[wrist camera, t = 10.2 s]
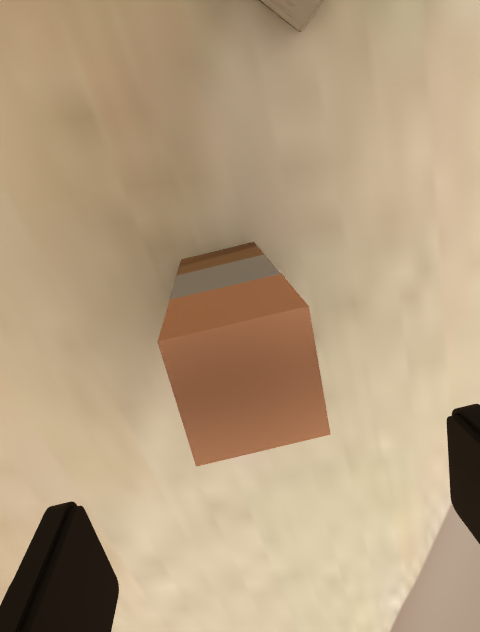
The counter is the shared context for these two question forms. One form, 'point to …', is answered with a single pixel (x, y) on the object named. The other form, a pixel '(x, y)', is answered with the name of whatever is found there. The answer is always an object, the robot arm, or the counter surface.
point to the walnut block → (219, 258)
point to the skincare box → (294, 10)
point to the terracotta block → (244, 369)
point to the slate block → (223, 276)
